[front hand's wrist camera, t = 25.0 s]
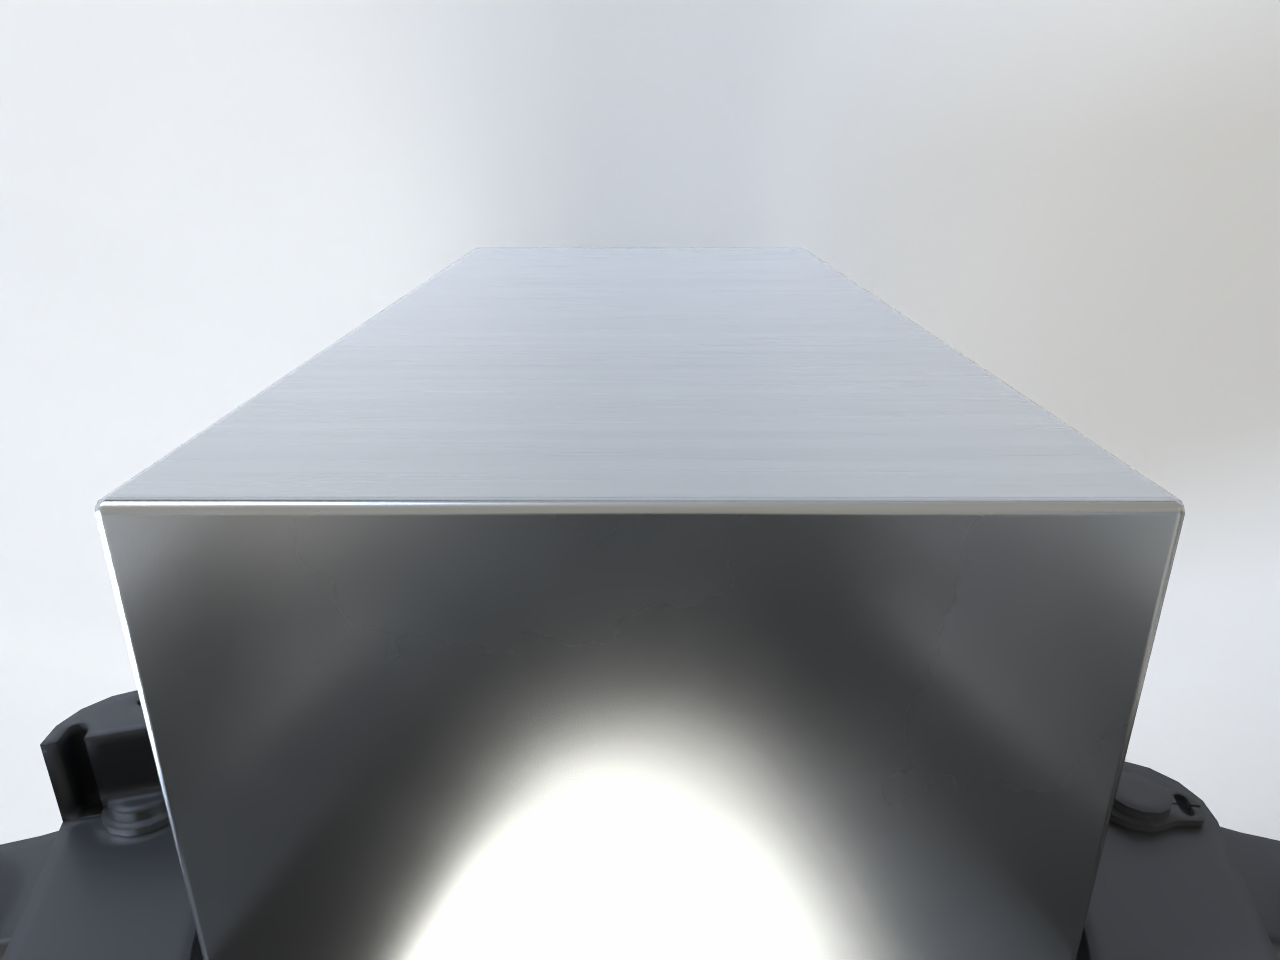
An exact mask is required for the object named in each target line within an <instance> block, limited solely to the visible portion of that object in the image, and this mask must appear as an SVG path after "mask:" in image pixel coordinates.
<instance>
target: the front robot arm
mask: <svg viewBox="0 0 1280 960" xmlns="http://www.w3.org/2000/svg"><path fill="white" fill-rule="evenodd" d="M40 746H41V750H42V753H43V756H44V760H45V763H46V766H47V770H48V773H49V776H50V780H51V783H52V786H53V790H54V793H55V796H56V800H57V803H58V806H59V810H60V813H61V816H62V820H63V823H62V825H61V828H60V830H59V831H57V832H53V833H50V834H46V835H43V836H39V837H34V838H29V839H25V840H20V841H16V842H11V843H7V844H2V845H0V960H204V959H203V955H202V951H201V947H200V943H199V939H198V935H197V931H196V927H195V923H194V918H193V914H192V910H191V906H190V902H189V898H188V894H187V890H186V886H185V882H184V877H183V873H182V869H181V865H180V861H179V857H178V853H177V849H176V845H175V841H174V836H173V832H172V828H171V824H170V820H169V816H168V812H167V808H166V804H165V800H164V795H163V791H162V787H161V783H160V779H159V775H158V771H157V767H156V763H155V759H154V754H153V750H152V746H151V742H150V738H149V734H148V730H147V726H146V722H145V718H144V713H143V709H142V705H141V701H140V697H139V693H138V690H137V691H132V692H128V693H124V694H120V695H115V696H112V697H109V698H107V699H105V700H102V701H100V702H97V703H95V704H93V705H90V706H88V707H86V708H83V709H81V710H80V711H78V712H77V713H75V714H74V715H72V716H71V717H69V718H68V719H66V720H65V721H63V722H62V723H60V724H59V725H57V726H56V727H55V728H54V729H53V730H52V732H51V733H50V734H49V735H48V736H47V737H46V739H45V740H44V741H43V742H42V743H41V744H40ZM1076 960H1280V841H1277V840H1273V839H1268V838H1264V837H1259V836H1254V835H1250V834H1245V833H1241V832H1237V831H1233V830H1230V829H1226V828H1223V827H1220V826H1219V824H1218V822H1217V820H1216V819H1215V817H1214V816H1213V814H1212V813H1211V812H1210V810H1209V809H1208V808H1207V806H1206V805H1205V803H1204V802H1203V801H1202V800H1201V799H1200V798H1198V797H1197V796H1196V795H1195V794H1193V793H1192V792H1191V791H1189V790H1188V789H1187V788H1185V787H1184V786H1183V785H1181V784H1180V783H1179V782H1177V781H1175V780H1173V779H1171V778H1169V777H1167V776H1165V775H1163V774H1161V773H1158V772H1156V771H1154V770H1152V769H1150V768H1147V767H1143V766H1140V765H1136V764H1132V763H1129V762H1125V761H1124V765H1123V769H1122V773H1121V777H1120V781H1119V785H1118V789H1117V794H1116V798H1115V802H1114V806H1113V810H1112V814H1111V818H1110V822H1109V826H1108V830H1107V834H1106V838H1105V843H1104V847H1103V851H1102V855H1101V859H1100V863H1099V867H1098V871H1097V875H1096V879H1095V883H1094V888H1093V892H1092V896H1091V900H1090V904H1089V908H1088V912H1087V916H1086V920H1085V924H1084V928H1083V933H1082V937H1081V941H1080V945H1079V949H1078V953H1077V957H1076Z"/></svg>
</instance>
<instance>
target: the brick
mask: <svg viewBox="0 0 1280 960" xmlns="http://www.w3.org/2000/svg"><path fill="white" fill-rule="evenodd" d="M1184 515H1185V512H1184V505H1183V503H1182V501H1181V500H1179V499H1178V498H1176V497H1175V496H1173V495H1172V494H1170V493H1169V492H1167V491H1166V490H1164V489H1163V488H1161V487H1160V486H1158V485H1157V484H1155V483H1154V482H1152V481H1151V480H1149V479H1148V478H1146V477H1145V476H1143V475H1142V474H1140V473H1139V472H1137V471H1136V470H1134V469H1133V468H1131V467H1130V466H1128V465H1127V464H1125V463H1124V462H1122V461H1121V460H1119V459H1118V458H1116V457H1115V456H1113V455H1112V454H1110V453H1109V452H1107V451H1106V450H1104V449H1103V448H1101V447H1100V446H1098V445H1097V444H1095V443H1094V442H1092V441H1091V440H1089V439H1088V438H1086V437H1085V436H1083V435H1082V434H1080V433H1079V432H1077V431H1076V430H1074V429H1073V428H1071V427H1070V426H1068V425H1067V424H1065V423H1064V422H1062V421H1061V420H1059V419H1058V418H1056V417H1055V416H1053V415H1052V414H1050V413H1049V412H1048V411H1046V410H1045V409H1043V408H1042V407H1040V406H1039V405H1037V404H1036V403H1034V402H1033V401H1031V400H1030V399H1028V398H1027V397H1025V396H1024V395H1022V394H1021V393H1019V392H1018V391H1016V390H1015V389H1013V388H1012V387H1010V386H1009V385H1007V384H1006V383H1004V382H1003V381H1001V380H1000V379H998V378H997V377H995V376H994V375H992V374H991V373H989V372H988V371H986V370H985V369H983V368H982V367H980V366H979V365H977V364H976V363H974V362H973V361H971V360H970V359H968V358H967V357H965V356H964V355H962V354H961V353H959V352H958V351H956V350H955V349H953V348H952V347H950V346H949V345H947V344H946V343H944V342H943V341H941V340H940V339H938V338H937V337H935V336H934V335H932V334H931V333H929V332H928V331H926V330H925V329H923V328H922V327H920V326H919V325H917V324H916V323H914V322H913V321H911V320H910V319H908V318H907V317H905V316H904V315H902V314H901V313H899V312H898V311H896V310H895V309H893V308H892V307H890V306H889V305H887V304H886V303H884V302H883V301H881V300H880V299H878V298H877V297H875V296H874V295H872V294H871V293H869V292H868V291H866V290H865V289H863V288H862V287H860V286H859V285H857V284H856V283H854V282H853V281H851V280H850V279H848V278H847V277H845V276H844V275H842V274H841V273H839V272H838V271H836V270H835V269H833V268H832V267H830V266H829V265H827V264H826V263H824V262H823V261H822V260H820V259H819V258H817V257H816V256H814V255H813V254H811V253H810V252H808V251H807V250H805V249H803V248H476V249H474V250H473V251H471V252H470V253H468V254H467V255H465V256H464V257H462V258H461V259H459V260H458V261H456V262H455V263H453V264H452V265H450V266H449V267H447V268H446V269H444V270H443V271H441V272H440V273H438V274H437V275H435V276H434V277H432V278H431V279H429V280H428V281H426V282H425V283H423V284H422V285H420V286H419V287H417V288H416V289H414V290H413V291H411V292H410V293H408V294H407V295H405V296H404V297H402V298H401V299H399V300H398V301H396V302H395V303H393V304H392V305H390V306H389V307H387V308H386V309H384V310H383V311H381V312H380V313H378V314H377V315H375V316H374V317H372V318H371V319H369V320H368V321H366V322H365V323H363V324H362V325H360V326H359V327H357V328H356V329H354V330H353V331H351V332H350V333H348V334H347V335H345V336H344V337H342V338H341V339H340V340H338V341H337V342H335V343H334V344H332V345H331V346H329V347H328V348H326V349H325V350H323V351H322V352H320V353H319V354H317V355H316V356H314V357H313V358H311V359H310V360H308V361H307V362H305V363H304V364H302V365H301V366H299V367H298V368H296V369H295V370H293V371H292V372H290V373H289V374H287V375H286V376H284V377H283V378H281V379H280V380H278V381H277V382H275V383H274V384H272V385H271V386H269V387H268V388H266V389H265V390H263V391H262V392H260V393H259V394H257V395H256V396H254V397H253V398H251V399H250V400H248V401H247V402H245V403H244V404H242V405H241V406H239V407H238V408H236V409H235V410H233V411H232V412H230V413H229V414H227V415H226V416H224V417H223V418H221V419H220V420H218V421H217V422H215V423H214V424H212V425H211V426H209V427H208V428H206V429H205V430H203V431H202V432H200V433H199V434H197V435H196V436H194V437H193V438H191V439H190V440H188V441H187V442H185V443H184V444H182V445H181V446H180V447H178V448H177V449H175V450H174V451H172V452H171V453H169V454H168V455H166V456H165V457H163V458H162V459H160V460H159V461H157V462H156V463H154V464H153V465H151V466H150V467H148V468H147V469H145V470H144V471H142V472H141V473H139V474H138V475H136V476H135V477H133V478H132V479H130V480H129V481H127V482H126V483H124V484H123V485H121V486H120V487H118V488H117V489H115V490H114V491H112V492H111V493H109V494H108V495H106V496H105V497H103V498H102V499H100V500H99V501H98V503H97V504H96V509H95V517H96V521H97V525H98V529H99V533H100V537H101V541H102V545H103V549H104V554H105V558H106V562H107V566H108V570H109V574H110V578H111V582H112V586H113V590H114V595H115V599H116V603H117V607H118V611H119V615H120V619H121V623H122V627H123V631H124V636H125V640H126V644H127V648H128V652H129V656H130V660H131V664H132V668H133V672H134V677H135V681H136V685H137V689H138V693H139V697H140V701H141V705H142V709H143V713H144V718H145V722H146V726H147V730H148V734H149V738H150V742H151V746H152V750H153V754H154V759H155V763H156V767H157V771H158V775H159V779H160V783H161V787H162V791H163V795H164V800H165V804H166V808H167V812H168V816H169V820H170V824H171V828H172V832H173V836H174V841H175V845H176V849H177V853H178V857H179V861H180V865H181V869H182V873H183V877H184V882H185V886H186V890H187V894H188V898H189V902H190V906H191V910H192V914H193V918H194V923H195V927H196V931H197V935H198V939H199V943H200V947H201V951H202V955H203V959H204V960H1076V957H1077V953H1078V949H1079V945H1080V941H1081V937H1082V933H1083V928H1084V924H1085V920H1086V916H1087V912H1088V908H1089V904H1090V900H1091V896H1092V892H1093V888H1094V883H1095V879H1096V875H1097V871H1098V867H1099V863H1100V859H1101V855H1102V851H1103V847H1104V843H1105V838H1106V834H1107V830H1108V826H1109V822H1110V818H1111V814H1112V810H1113V806H1114V802H1115V798H1116V794H1117V789H1118V785H1119V781H1120V777H1121V773H1122V769H1123V765H1124V761H1125V757H1126V753H1127V749H1128V744H1129V740H1130V736H1131V732H1132V728H1133V724H1134V720H1135V716H1136V712H1137V708H1138V704H1139V699H1140V695H1141V691H1142V687H1143V683H1144V679H1145V675H1146V671H1147V667H1148V663H1149V659H1150V654H1151V650H1152V646H1153V642H1154V638H1155V634H1156V630H1157V626H1158V622H1159V618H1160V614H1161V609H1162V605H1163V601H1164V597H1165V593H1166V589H1167V585H1168V581H1169V577H1170V573H1171V569H1172V565H1173V560H1174V556H1175V552H1176V548H1177V544H1178V540H1179V536H1180V532H1181V528H1182V524H1183V520H1184Z"/></svg>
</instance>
